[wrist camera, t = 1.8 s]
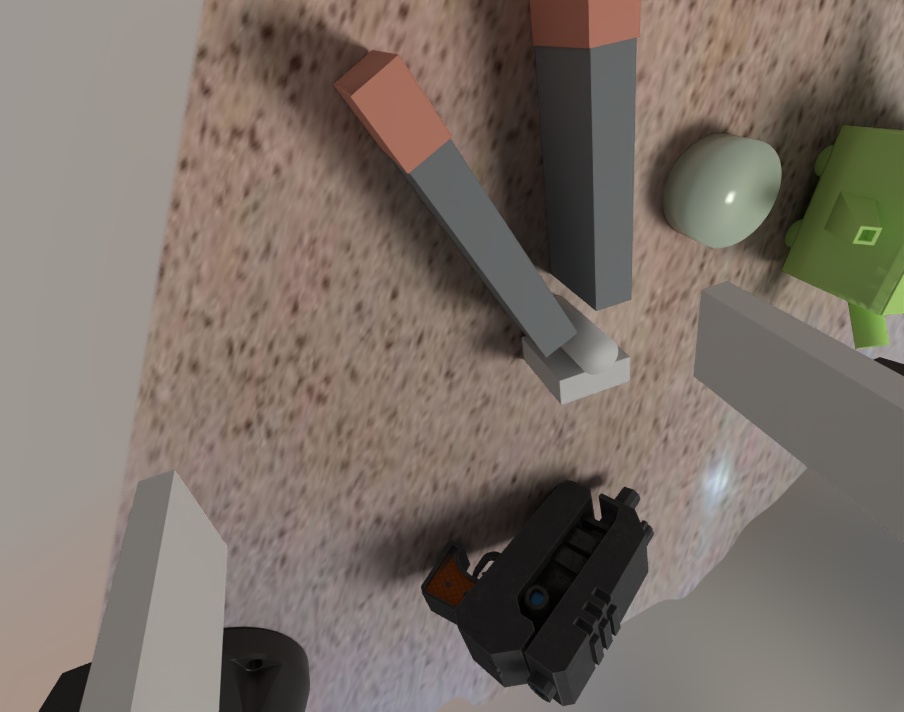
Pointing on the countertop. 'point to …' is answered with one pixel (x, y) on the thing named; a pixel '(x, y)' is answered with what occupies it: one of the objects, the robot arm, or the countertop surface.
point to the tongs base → (587, 178)
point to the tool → (548, 591)
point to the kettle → (856, 229)
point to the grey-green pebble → (722, 189)
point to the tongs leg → (452, 192)
